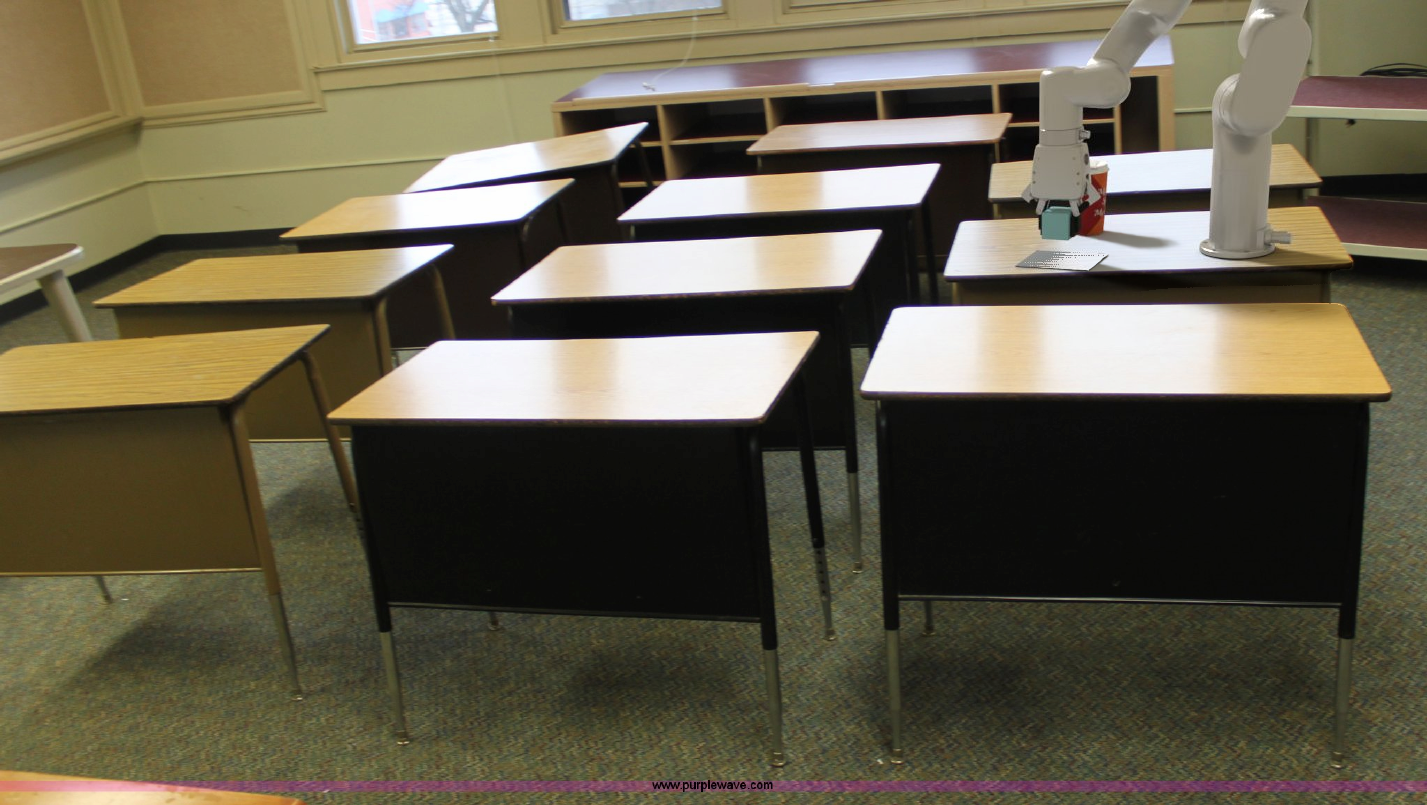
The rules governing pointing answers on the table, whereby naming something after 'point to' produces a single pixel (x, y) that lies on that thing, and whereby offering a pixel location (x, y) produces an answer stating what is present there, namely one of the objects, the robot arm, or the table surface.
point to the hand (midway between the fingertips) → (1059, 233)
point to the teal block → (1056, 223)
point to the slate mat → (1043, 258)
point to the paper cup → (1096, 211)
